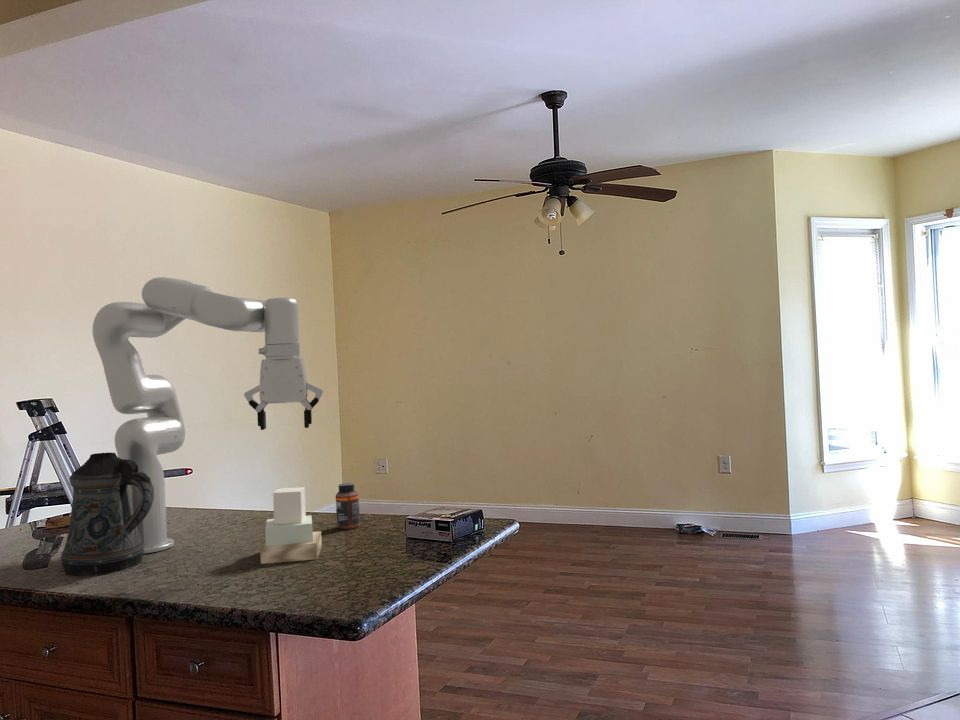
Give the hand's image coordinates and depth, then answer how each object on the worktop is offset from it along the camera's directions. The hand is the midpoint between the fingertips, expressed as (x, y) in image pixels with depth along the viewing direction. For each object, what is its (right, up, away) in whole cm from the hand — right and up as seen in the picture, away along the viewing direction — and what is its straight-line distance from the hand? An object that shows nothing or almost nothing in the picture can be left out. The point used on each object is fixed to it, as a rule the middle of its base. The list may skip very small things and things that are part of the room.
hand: (285, 428), depth 167 cm
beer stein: (-38, -31, -2) cm, 49 cm away
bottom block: (+2, -29, 0) cm, 29 cm away
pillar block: (+1, -21, 0) cm, 21 cm away
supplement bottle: (+10, -28, +26) cm, 40 cm away
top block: (+1, -25, 0) cm, 25 cm away
